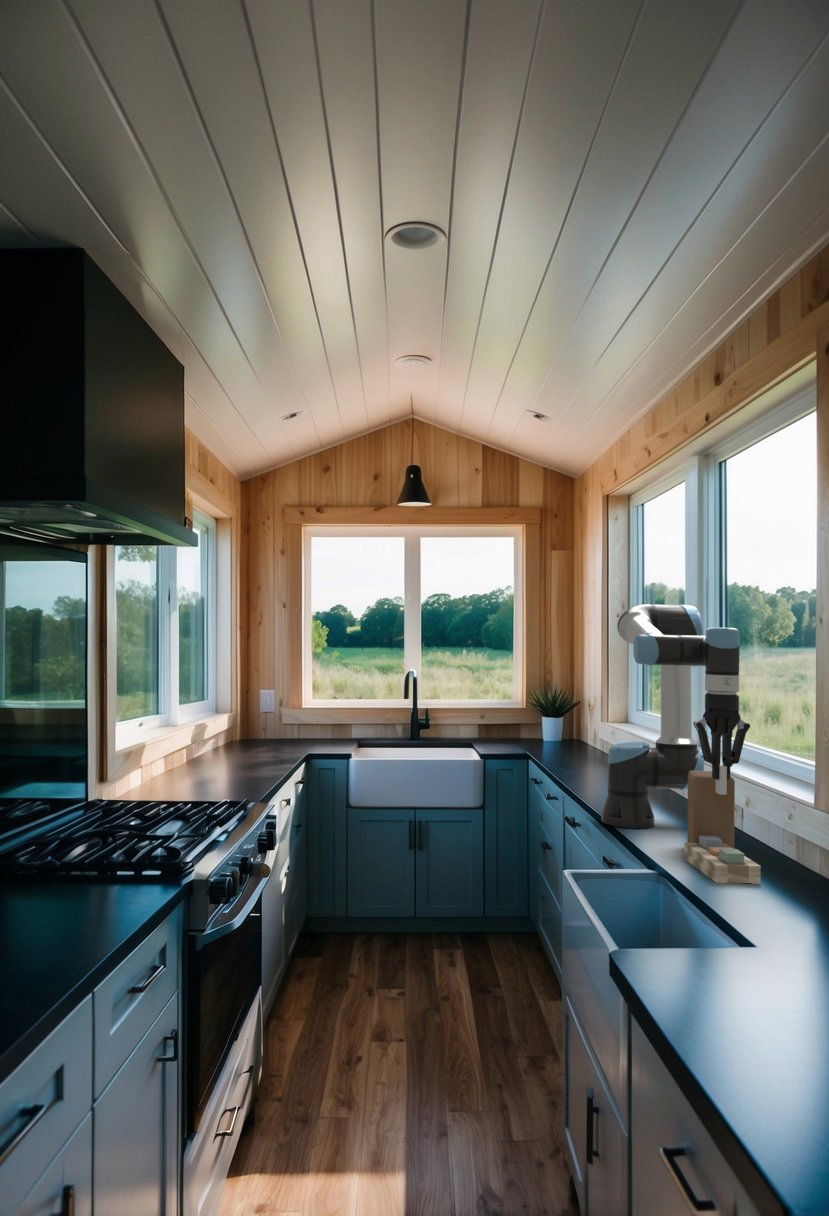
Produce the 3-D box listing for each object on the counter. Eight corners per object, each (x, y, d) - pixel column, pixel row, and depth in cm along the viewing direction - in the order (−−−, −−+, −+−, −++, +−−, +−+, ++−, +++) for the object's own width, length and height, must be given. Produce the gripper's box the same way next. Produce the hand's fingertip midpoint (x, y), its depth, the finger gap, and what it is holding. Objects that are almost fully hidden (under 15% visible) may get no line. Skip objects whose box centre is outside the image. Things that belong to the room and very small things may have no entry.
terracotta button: (708, 864, 185) (708, 847, 185) (725, 864, 185) (725, 847, 185) (715, 869, 181) (715, 851, 181) (732, 869, 181) (732, 851, 181)
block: (734, 859, 193) (735, 778, 194) (692, 856, 195) (693, 775, 196) (727, 849, 203) (727, 771, 204) (686, 846, 205) (687, 769, 206)
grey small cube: (698, 852, 191) (699, 835, 191) (715, 852, 191) (715, 835, 191) (705, 856, 187) (705, 839, 187) (721, 856, 187) (722, 839, 187)
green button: (719, 866, 179) (719, 848, 179) (736, 866, 179) (736, 849, 179) (726, 871, 175) (726, 853, 175) (744, 871, 175) (744, 853, 175)
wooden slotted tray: (684, 859, 192) (684, 842, 192) (724, 859, 192) (724, 843, 193) (715, 883, 173) (716, 865, 173) (760, 884, 173) (760, 865, 174)
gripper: (700, 693, 181) (699, 796, 180) (756, 694, 181) (755, 797, 180) (688, 691, 188) (687, 789, 187) (742, 692, 188) (741, 790, 187)
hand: (720, 793), depth 184 cm, fingers closed
